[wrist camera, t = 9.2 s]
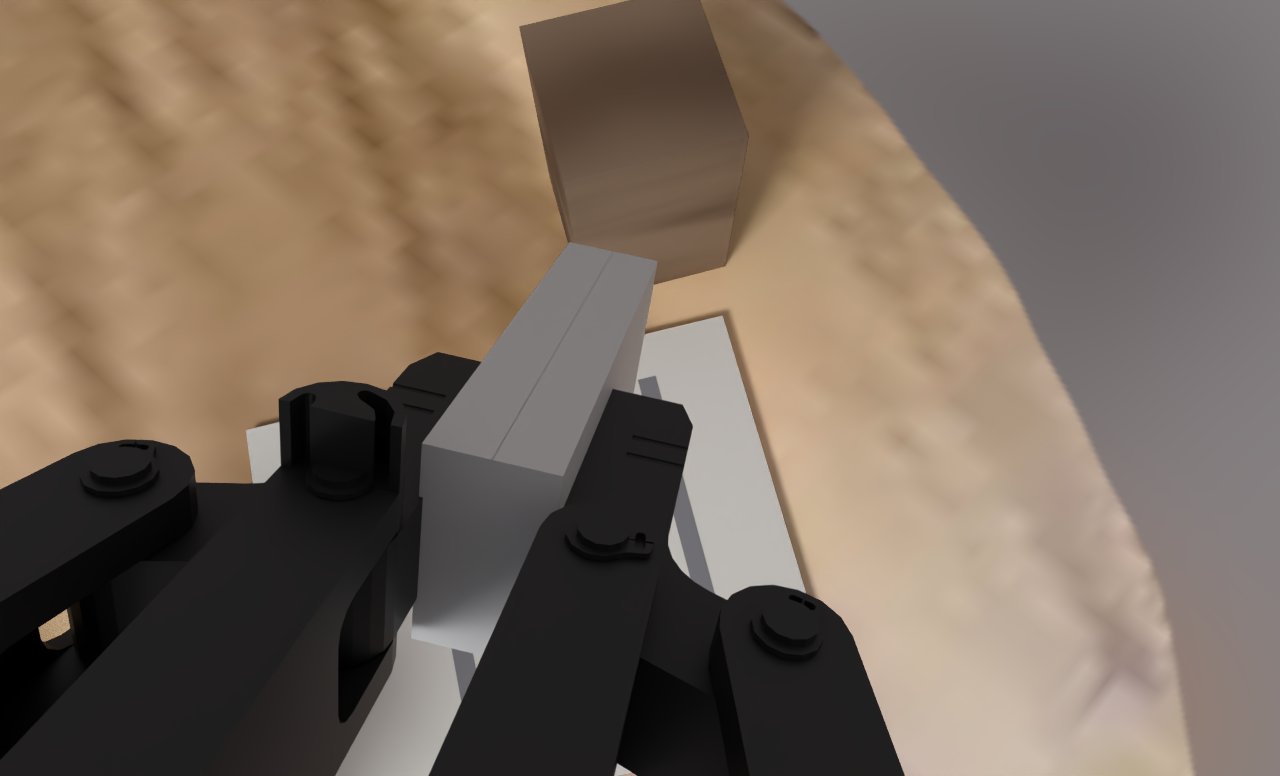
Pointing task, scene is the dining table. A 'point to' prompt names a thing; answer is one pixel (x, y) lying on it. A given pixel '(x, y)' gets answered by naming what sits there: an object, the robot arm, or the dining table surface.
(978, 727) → the dining table surface
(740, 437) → the letter
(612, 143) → the walnut block
